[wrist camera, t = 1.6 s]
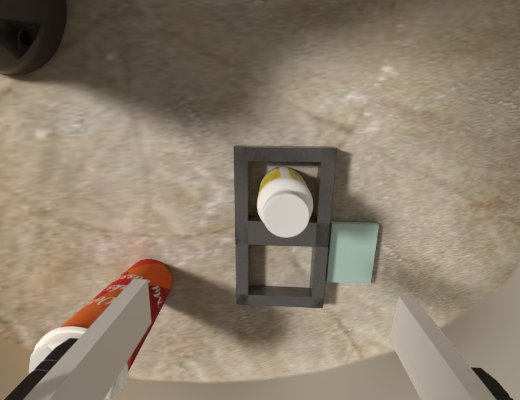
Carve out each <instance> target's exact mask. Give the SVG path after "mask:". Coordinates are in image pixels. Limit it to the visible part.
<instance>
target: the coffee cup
mask: <svg viewBox="0 0 520 400" xmlns="http://www.w3.org/2000/svg"><path fill="white" fill-rule="evenodd" d="M133 279H144V280H148V289H149V300H150V311H151V321H152V323H151V324H150V326H149V328H148V329H147V331H146V332H145V334H144V336H143V337H142V339H141V341H140V342H139V344H138V345H137V347H136V349H135V350H134V352H133V353H132V355H131V357H130V358H129V360H128V361H127V363H126V365H125V366H124V368H123V369H122V371H121V373H120V374H119V376H118V378H117V379H116V381H115V382H114V384H113V386H112V387H111V389H110V390H109V392H108V394H107V395H106V397H105V398H104V400H111V399H112V398H113V397H114V396H116V395H117V394H119V393H120V391H122V390H123V388H124V387H125V385H126V383H127V380H128V375H129V374H128V371H129V369H130V368H131V366H132V364H133V362H134V360H135V358H136V356H137V354H138V352H139V350H140V348H141V347H142V345H143V343H144V341H145V339H146V337H147V335H148V333H149V332H150V330H151V328H152V326H153V324H154V322H155V320H156V318H157V316H158V314H159V312H160V310H161V308H162V306H163V304H164V302H165V300H166V298H167V296H168V294H169V292H170V290H171V288H172V284H173V278H172V274H171V272H170V270H169V269H168V268H167V267H166V266H165V265H164V264H163V263H161V262H159V261H156V260H152V259H145V260H141V261H139V262H137V263H136V264H135V265H133V266H132V267H131V268H129V269H128V270H127V271H126V272H125V273H123V274H122V275H121V276H120V277H119V278H117V279H116V280H115V281H114V282H113V283H111V284H110V285H109V286H108V287H107V288H106V289H104V290H103V291H102V292H101V293H100V294H99V295H97V296H96V297H95V298H94V299H93V300H91V301H90V302H89V303H88V304H87V305H86V306H84V307H83V308H82V309H81V310H80V311H79V312H77V313H76V314H75V315H74V316H73V317H72V318H70V319H69V320H68V321H67V322H66V323H65V324H63V325H62V326H61V327H60V328H57V329H54V330H52V331H50V332H48V333H47V334H46V335H45V336H43V338H42V339H41V340H40V341H39V342H38V343H37V344H36V345H35V350H34V352H33V353H32V355H31V358H30V366H29V374H30V373H31V372H32V371H34V370H35V368H36V367H37V366H38V365H39V364H40V363H41V362H42V361H44V359H45V358H46V357H47V356H48V355H49V354H50V353H51V352H52V351H53V350H54V349H55V348H56V347H57V346H59V345H60V344H62V343H63V342H65V341H66V340H68V339H69V338H78V339H79V338H80V337H81V336H82V335H83V334H84V332H85V331H86V330H87V329H88V328H89V327H90V326H91V325H92V324H93V323H94V322H95V320H96V319H97V318H98V317H99V316H100V315H101V314H102V313H103V312H104V311H105V309H106V308H107V307H108V306H109V305H110V304H111V303H112V302H113V301H114V300H115V299H116V297H117V296H118V295H119V294H120V293H121V292H122V291H123V290H124V289H125V288H126V287H127V285H128V284H129V283H130V282H131V281H132V280H133Z"/></svg>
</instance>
